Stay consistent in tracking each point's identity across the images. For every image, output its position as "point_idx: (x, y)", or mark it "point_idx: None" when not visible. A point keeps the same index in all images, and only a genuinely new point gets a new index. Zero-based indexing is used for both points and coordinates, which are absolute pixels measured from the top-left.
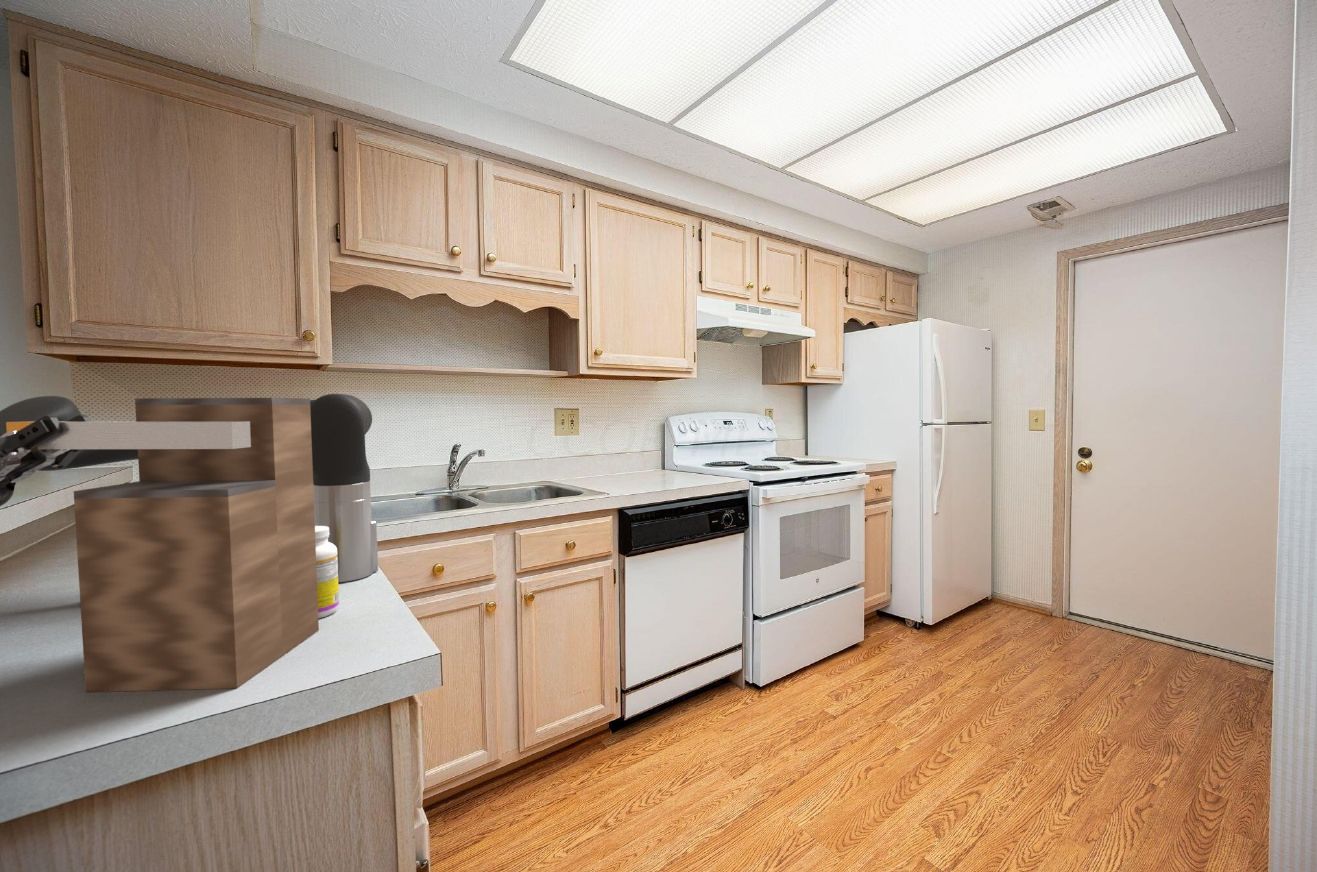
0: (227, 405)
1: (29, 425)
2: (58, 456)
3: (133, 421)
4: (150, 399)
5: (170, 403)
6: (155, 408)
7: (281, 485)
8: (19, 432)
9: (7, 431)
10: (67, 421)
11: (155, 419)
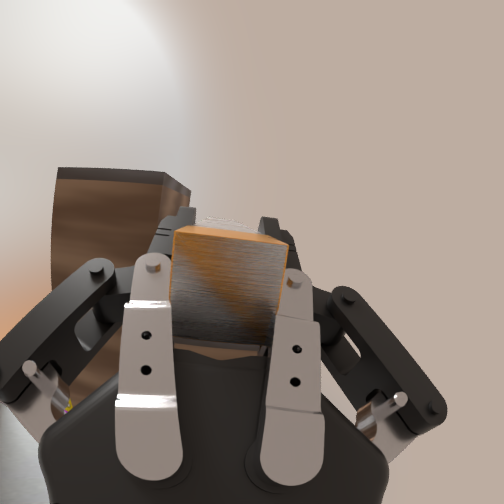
0: (184, 196)
1: (293, 246)
2: (74, 363)
3: (203, 220)
4: (169, 177)
5: (174, 187)
6: (168, 194)
7: None
8: (299, 268)
9: (282, 281)
10: (190, 225)
11: (165, 213)
